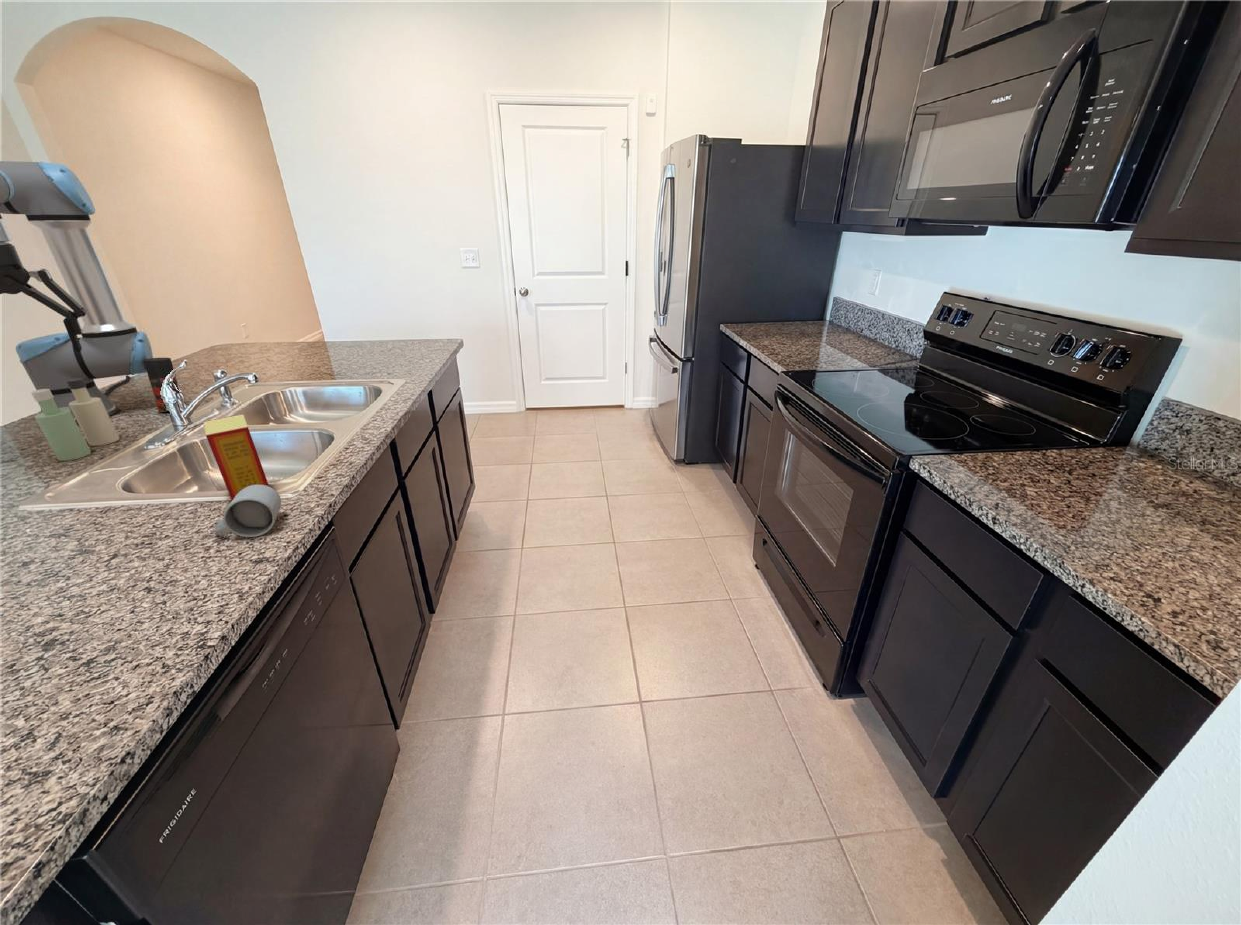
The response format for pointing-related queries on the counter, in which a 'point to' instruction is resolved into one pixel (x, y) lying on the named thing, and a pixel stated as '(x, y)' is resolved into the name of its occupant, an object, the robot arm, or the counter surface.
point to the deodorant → (159, 377)
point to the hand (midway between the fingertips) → (33, 353)
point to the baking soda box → (235, 453)
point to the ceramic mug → (250, 512)
